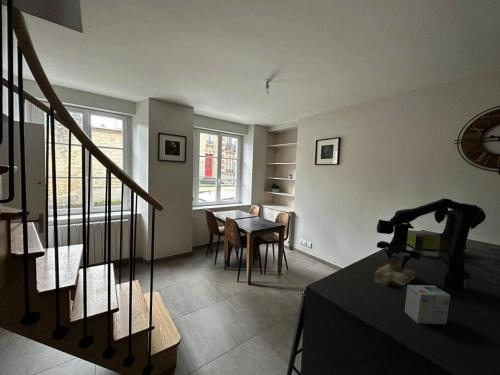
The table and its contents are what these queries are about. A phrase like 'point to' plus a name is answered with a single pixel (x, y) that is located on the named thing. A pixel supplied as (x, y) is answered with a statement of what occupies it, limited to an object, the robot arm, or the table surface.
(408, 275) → the plinth
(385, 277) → the oak block
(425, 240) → the tea box
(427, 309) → the light bulb box
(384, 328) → the table surface
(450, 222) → the glass bottle
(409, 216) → the robot arm
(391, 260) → the walnut block
